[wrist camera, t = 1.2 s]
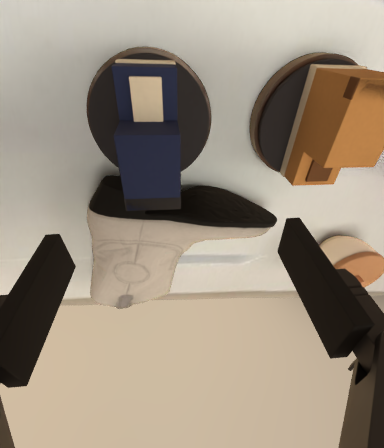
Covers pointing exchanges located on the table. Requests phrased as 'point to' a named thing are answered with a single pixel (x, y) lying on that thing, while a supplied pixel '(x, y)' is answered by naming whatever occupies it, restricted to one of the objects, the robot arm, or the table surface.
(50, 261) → the robot arm
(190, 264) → the table surface
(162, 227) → the cowboy boot
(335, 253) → the trinket box
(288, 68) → the turntable base
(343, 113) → the tan sneaker
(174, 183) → the navy and black piece
